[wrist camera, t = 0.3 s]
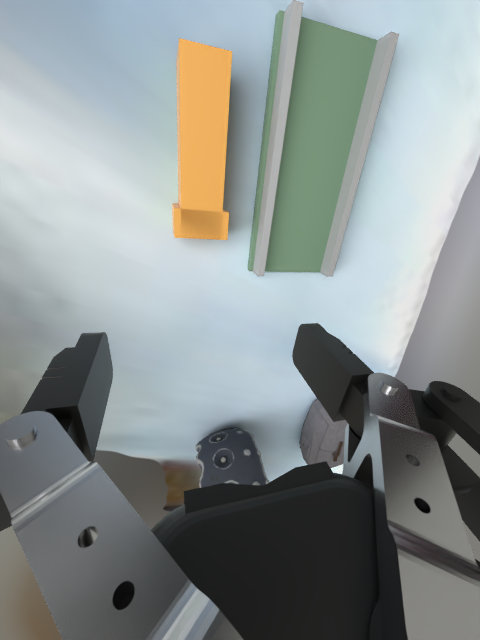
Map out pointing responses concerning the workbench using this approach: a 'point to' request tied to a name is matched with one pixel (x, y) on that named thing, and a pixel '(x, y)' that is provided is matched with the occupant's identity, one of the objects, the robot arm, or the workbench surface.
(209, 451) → the dark patterned drum
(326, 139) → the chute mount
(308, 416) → the soft grey pack
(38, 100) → the workbench surface
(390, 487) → the robot arm
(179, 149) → the chute
